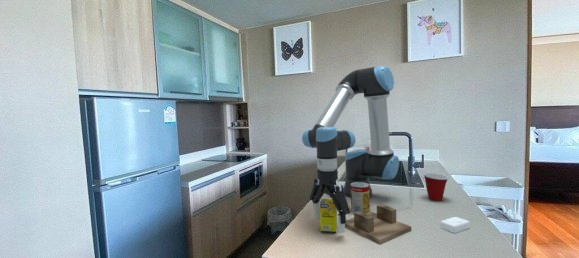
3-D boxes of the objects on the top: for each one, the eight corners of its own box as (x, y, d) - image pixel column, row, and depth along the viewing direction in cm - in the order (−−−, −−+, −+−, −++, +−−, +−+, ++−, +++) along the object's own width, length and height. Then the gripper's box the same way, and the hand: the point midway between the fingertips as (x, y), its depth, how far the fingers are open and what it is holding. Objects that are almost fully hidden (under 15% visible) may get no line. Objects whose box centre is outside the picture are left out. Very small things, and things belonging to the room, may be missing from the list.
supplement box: (337, 234, 93) (336, 204, 93) (320, 233, 95) (319, 203, 94) (337, 226, 99) (336, 198, 99) (321, 226, 100) (320, 198, 100)
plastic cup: (451, 204, 118) (451, 178, 118) (424, 202, 122) (424, 177, 122) (446, 196, 128) (446, 173, 128) (422, 195, 133) (422, 171, 132)
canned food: (371, 209, 116) (370, 183, 115) (367, 215, 109) (367, 187, 108) (353, 207, 119) (353, 181, 119) (349, 213, 112) (348, 185, 112)
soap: (455, 223, 99) (455, 215, 99) (470, 228, 94) (470, 220, 94) (439, 228, 95) (439, 220, 95) (454, 234, 90) (454, 226, 90)
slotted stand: (342, 225, 100) (341, 208, 100) (372, 215, 109) (371, 200, 109) (380, 244, 85) (379, 224, 85) (411, 230, 94) (411, 213, 93)
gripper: (300, 165, 104) (301, 216, 106) (343, 176, 83) (345, 241, 84) (314, 163, 108) (316, 212, 109) (360, 173, 87) (361, 235, 88)
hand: (328, 225), depth 97 cm, fingers open, 13 cm apart
